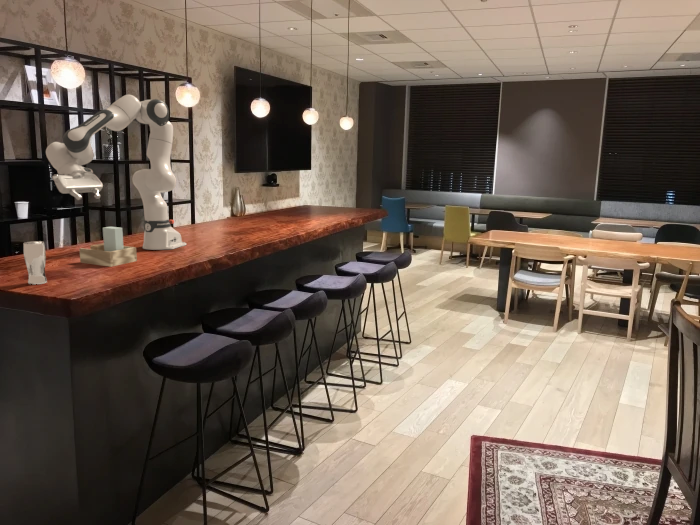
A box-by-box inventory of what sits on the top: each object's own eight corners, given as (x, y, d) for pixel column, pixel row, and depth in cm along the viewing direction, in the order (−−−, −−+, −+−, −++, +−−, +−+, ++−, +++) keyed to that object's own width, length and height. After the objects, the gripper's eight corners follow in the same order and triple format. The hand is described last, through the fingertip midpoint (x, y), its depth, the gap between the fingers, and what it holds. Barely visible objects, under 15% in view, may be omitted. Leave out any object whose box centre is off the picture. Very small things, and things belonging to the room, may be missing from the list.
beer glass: (28, 285, 201) (23, 244, 198) (25, 282, 207) (21, 242, 204) (49, 283, 205) (46, 243, 202) (46, 279, 211) (43, 240, 208)
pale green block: (112, 260, 243) (110, 226, 240) (124, 262, 240) (122, 227, 237) (105, 262, 239) (102, 227, 236) (117, 264, 236) (114, 228, 233)
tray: (107, 259, 251) (106, 243, 250) (137, 263, 243) (136, 247, 242) (80, 264, 239) (79, 248, 237) (111, 269, 231) (109, 252, 230)
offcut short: (104, 249, 246) (103, 243, 245) (110, 250, 244) (110, 243, 244) (90, 252, 240) (90, 245, 239) (97, 253, 238) (96, 246, 237)
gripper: (53, 169, 231) (71, 194, 229) (94, 169, 249) (111, 192, 247) (46, 180, 233) (64, 204, 231) (88, 178, 252) (105, 201, 249)
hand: (89, 198), depth 239 cm, fingers open, 8 cm apart
